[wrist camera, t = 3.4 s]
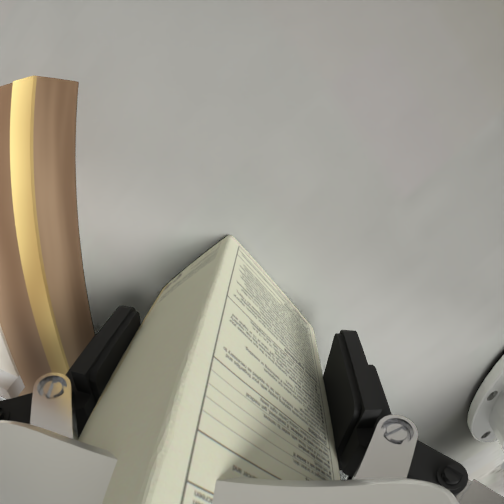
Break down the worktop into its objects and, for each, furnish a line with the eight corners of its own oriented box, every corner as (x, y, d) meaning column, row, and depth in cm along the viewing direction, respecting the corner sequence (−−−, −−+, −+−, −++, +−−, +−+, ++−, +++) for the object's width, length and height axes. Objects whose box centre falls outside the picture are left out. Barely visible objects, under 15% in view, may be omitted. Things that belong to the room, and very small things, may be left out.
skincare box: (161, 286, 14) (17, 534, 3) (234, 227, 13) (110, 567, 2) (249, 372, 16) (220, 609, 4) (322, 330, 15) (360, 602, 3)
